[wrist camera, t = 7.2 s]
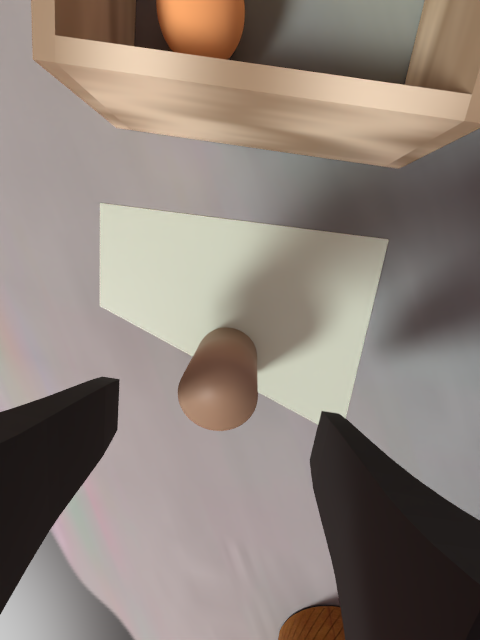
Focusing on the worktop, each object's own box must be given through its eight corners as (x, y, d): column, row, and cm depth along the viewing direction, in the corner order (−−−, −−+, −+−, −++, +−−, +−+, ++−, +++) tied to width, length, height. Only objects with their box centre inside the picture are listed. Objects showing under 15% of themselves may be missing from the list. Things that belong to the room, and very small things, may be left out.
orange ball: (251, -1, 12) (250, -83, 9) (240, 90, 12) (235, 43, 9) (173, -12, 12) (146, -97, 9) (167, 79, 12) (139, 30, 9)
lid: (383, 239, 14) (442, 239, 10) (327, 472, 17) (352, 552, 13) (106, 204, 14) (38, 188, 10) (104, 441, 18) (53, 509, 13)
